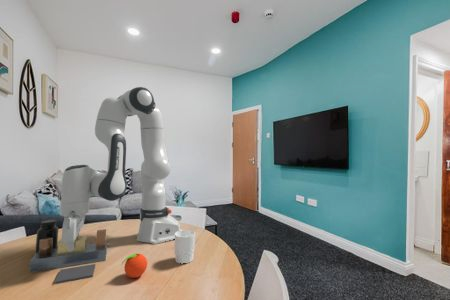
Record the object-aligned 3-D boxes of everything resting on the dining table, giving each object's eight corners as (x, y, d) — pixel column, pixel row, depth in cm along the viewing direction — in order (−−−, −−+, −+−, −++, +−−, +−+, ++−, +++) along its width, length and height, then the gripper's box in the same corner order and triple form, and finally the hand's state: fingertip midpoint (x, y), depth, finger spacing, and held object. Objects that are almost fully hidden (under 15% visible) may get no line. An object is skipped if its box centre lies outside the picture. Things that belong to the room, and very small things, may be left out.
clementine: (122, 286, 65) (123, 261, 65) (118, 275, 70) (119, 253, 71) (149, 277, 69) (150, 255, 70) (143, 268, 75) (144, 247, 75)
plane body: (106, 251, 87) (108, 226, 88) (105, 260, 80) (106, 233, 81) (37, 262, 78) (39, 234, 78) (29, 272, 71) (31, 241, 71)
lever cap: (86, 245, 83) (87, 235, 83) (84, 251, 79) (85, 239, 79) (61, 249, 80) (61, 238, 80) (57, 254, 75) (58, 243, 75)
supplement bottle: (44, 255, 83) (46, 224, 83) (30, 253, 84) (32, 222, 85) (61, 248, 90) (63, 219, 90) (48, 247, 91) (49, 218, 92)
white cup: (198, 257, 84) (198, 231, 85) (188, 266, 77) (189, 238, 78) (180, 254, 87) (181, 228, 88) (169, 262, 80) (170, 235, 80)
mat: (95, 265, 76) (95, 263, 76) (92, 276, 69) (92, 274, 69) (60, 271, 72) (60, 269, 72) (53, 284, 65) (54, 282, 65)
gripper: (80, 214, 72) (78, 256, 71) (88, 202, 90) (87, 236, 90) (56, 216, 69) (54, 260, 69) (70, 204, 88) (68, 238, 87)
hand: (73, 246), depth 79 cm, fingers open, 6 cm apart
